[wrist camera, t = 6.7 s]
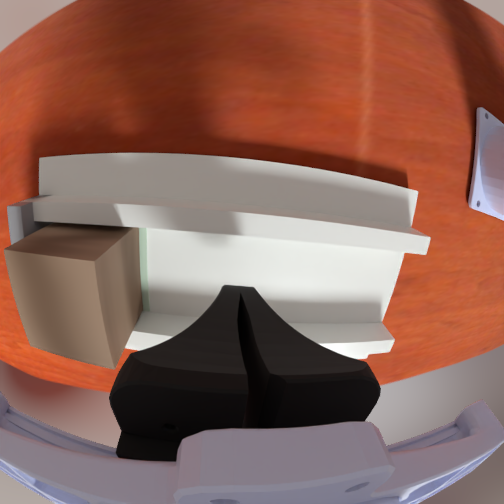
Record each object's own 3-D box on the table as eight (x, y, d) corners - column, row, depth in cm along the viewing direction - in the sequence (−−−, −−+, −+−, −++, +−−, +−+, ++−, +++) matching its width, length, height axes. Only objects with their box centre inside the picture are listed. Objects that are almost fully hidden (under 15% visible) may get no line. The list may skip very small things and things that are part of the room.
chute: (409, 188, 14) (451, 201, 10) (361, 350, 18) (382, 386, 15) (48, 156, 12) (6, 162, 8) (68, 326, 16) (43, 359, 12)
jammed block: (139, 223, 13) (94, 261, 8) (143, 309, 14) (114, 369, 10) (61, 219, 12) (3, 249, 7) (71, 298, 14) (30, 345, 9)
